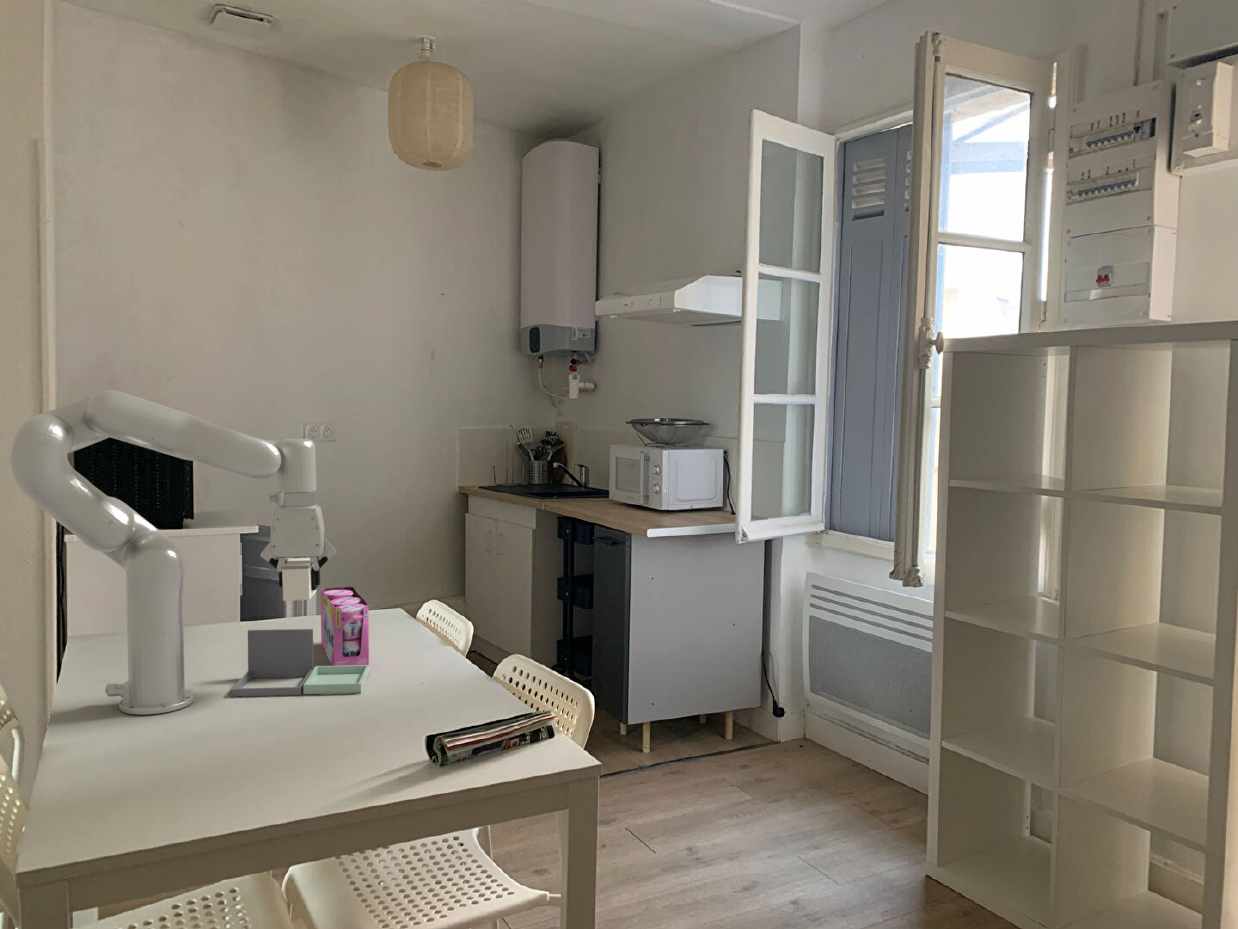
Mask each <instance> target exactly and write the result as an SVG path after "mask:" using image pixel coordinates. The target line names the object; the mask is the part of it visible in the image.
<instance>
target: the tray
mask: <svg viewBox="0 0 1238 929" xmlns="http://www.w3.org/2000/svg"><path fill="white" fill-rule="evenodd" d="M369 676H370V664H369V665H347V666H332V665H316V666H315V667H313V671H312V673H311V674H310V676H309V677H308V679H307V680H306V682H305V683H304V685H303V692H302V695H303V694H321V695H346V694H347V695H351V694H352V693H354V694H355V693H358V694H362V692H363V690H364V688H363V687H365V685H366V683H367V681H368V679H367V678H369ZM365 682H366V683H365ZM350 693H351V694H350ZM352 695H353V694H352Z"/></svg>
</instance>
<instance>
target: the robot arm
mask: <svg viewBox="0 0 1238 929" xmlns="http://www.w3.org/2000/svg"><path fill="white" fill-rule="evenodd" d="M108 438H111V439H115V440H119V441H121V442H124V443H125V442H126V443H128V444H131V445H135V446H138V447H141V448H142V447H143V448H145V449H148V450H152V451H155V452H158V453H162V454H165V455H168V456H172V457H174V458H178V459H181V460H185V461H191V462H192V461H193V462H196V463H201V464H203V465H204V464H205V465H208V466H211V467H214V468H218V469H221V470H224V471H228V472H230V473H231V472H232V473H234V474H238V475H241V476H245V477H247V478H250V479H254V480H266V479H269V478H271V477H273V476H274V475H276V477H275V478H276V492H275V494H270V495H269V502H273V503H275V504H276V507H273V508H272V512H271V513H272V514H271V520H270V537H269V538H270V539H269V540H270V541H269V542H268V544H267V545H266V546H265V547H264V548H263V550H262V551H261V553H260V557H261V558H262V559H264V561H266V562H268V563H269V564H270V565H271V566H272V567H274V569H276V572H278V585H279V588H280V587H281V588H282V589H281V591H282V592H283V580H282V569H281V566H282V565H284V564H285V563H286V562H287V561H288V560H289V559H295V558H310V560H311V563H312V566H313V567H312V571H311V589H312V590H316V591H317V589H318V586H320V585H321V568H322V567H323V566H324V565H325V564H326V563H327V562H328V561H329V560H331V559H332V558H333V557H334V556H336V554H337V553H338V552H337V549H336V548H335V547H334V546H333V544H331V543H330V541H329V540H328V539H327V538H326V532H325V522H324V517H323V516H324V515H323V513H322V512H323V511H322V507H321V505H318V498H317V495H318V493H317V491H318V490H317V467H316V466H317V462H316V446H315V443H314V441H313V440H312V439H308V438H286V439H285V438H284V439H281V440H274V439H273V440H272V439H262V438H258V437H255V436H252V435H248V434H245V433H242V432H239V431H236V430H234V429H233V430H232V429H230V428H227V427H223V426H221V425H218V424H215V423H212V422H210V421H207V420H205V419H204V418H201V417H199V416H197V415H195V414H191V413H189V412H186V411H183V410H179V409H175V408H172V407H169V406H167V405H163V404H160V403H158V402H154V401H150V400H148V399H145V398H142V397H140V396H136V395H132V394H129V393H126V392H123V391H120V390H117V389H116V390H115V389H106V390H102V391H98V392H96V393H93V394H91V395H88V396H86V397H84V398H82V399H81V398H80V399H79V400H77V401H74V402H73V401H72V402H71V403H68V404H66V405H62V406H60V407H57V408H54V409H51V410H48V411H45V412H43V413H42V412H41V413H39V414H36V415H34V416H32V417H29V418H27V419H26V420H25V421H24V422H22V424H20V426H19V427H18V429H17V430H16V433H15V435H14V438H13V442H12V446H11V451H10V457H9V458H10V459H9V460H10V467H11V472H12V475H13V479H14V480H15V482H16V484H17V485H18V487H19V489H20V490H21V491H22V492H23V494H25V496H26V497H28V498H29V499H30V500H31V501H32V502H33V503H34V504H35V505H36V506H38V507H39V508H40V509H41V510H43V511H44V512H46V513H47V514H48V515H50V517H52V518H53V519H54V520H55V521H56V522H58V523H59V524H60V525H62V526H63V527H64V528H66V529H67V531H69V532H71V533H72V534H73V535H74V536H75V537H77V538H78V540H80V541H81V542H82V543H83V544H84V545H85V546H87V547H88V548H90V549H92V550H95V551H98V552H101V553H102V554H103V555H105V556H106V557H108V558H109V559H111V560H112V561H114V563H116V564H118V566H120V567H121V568H122V569H124V570H125V580H126V582H125V583H126V627H127V671H128V672H127V673H128V674H127V675H128V676H127V677H128V678H127V679H128V680H127V681H125V682H123V683H114V682H113V683H107V684H106V685H105V694H106V695H107V697H108V698H109V697H120V698H122V699H121V700H120V701H119V704H118V707H119V708H118V709H119V711H121V712H122V713H125V714H130V715H138V716H142V715H146V716H147V715H157V714H159V715H160V714H165V713H169V712H175V711H177V710H181V709H183V708H185V707H187V706H189V705H191V704H192V703H193V702H194V698H195V697H194V696H195V695H194V692H193V691H191V690H189V689H186V688H185V686H186V685H185V682H186V680H185V639H184V638H185V629H184V628H185V626H184V623H185V622H184V588H185V585H184V584H185V563H184V562H185V561H184V558H183V555H182V552H181V551H180V549H179V548H178V546H177V545H176V543H175V542H174V541H173V540H171V538H170V537H168V536H167V535H165V533H164V532H162V531H161V530H160V529H158V528H157V527H156V526H155V525H153V524H152V523H150V522H149V521H148V520H147V519H146V518H144V517H143V516H141V515H140V514H139V513H138V512H137V511H136V510H134V509H133V508H132V507H130V506H129V505H128V504H127V503H125V502H123V501H122V500H121V499H118V498H117V497H114V496H108V495H107V494H105V493H104V492H103V491H102V490H100V489H99V488H97V487H96V486H95V485H94V484H92V482H90V481H89V480H88V479H87V478H86V477H84V475H82V474H81V473H79V472H78V471H77V470H75V468H73V467H72V465H71V463H70V462H69V458H68V454H70V453H74V452H76V451H78V450H81V449H83V448H86V447H89V446H91V445H93V444H96V443H99V442H101V441H103V440H106V439H108ZM325 551H327V552H326V554H325V555H323V556H322V557H321V558H320V556H321V555H322V554H323V553H324V552H325Z"/></svg>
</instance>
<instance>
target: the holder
mask: <svg viewBox="0 0 1238 929" xmlns="http://www.w3.org/2000/svg"><path fill="white" fill-rule="evenodd" d="M313 670H314V629H313V628H285V629H284V628H283V629H281V628H279V629H248V630H247V672H246V673H245V674H243V675H242V677H241V678H240V679H239V680H238V681H237V683H236V684H235V685H234V686H233V687H232V688H231V690H230V691H231V698H238V697H239V696H241V697H242V698H243V697H273V696H274V697H275V696H276V697H278V696H277V695H284V696H301V695H302V694H303V685H304V683H305V682H306V680H307V679H308V677H309V676H310V674H311V673H312V671H313ZM278 676H279V677H278ZM282 676H286V677H285V678H288V677H287V676H305V677H304V678H303V680H302V681H301V683H300V684H299V686H281V687H276V686H275V687H247V688H246V687H245V688H244V686H245V685H246V684H247V683H246V682H247V681H248V682H249V681H250V679H251V677H264V678H283V677H282ZM301 693H302V694H301ZM241 697H239V698H241Z"/></svg>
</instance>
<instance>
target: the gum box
mask: <svg viewBox="0 0 1238 929" xmlns="http://www.w3.org/2000/svg"><path fill="white" fill-rule="evenodd" d="M369 620H370V618H369V603H368V601H367V600H366V599H365V598H364V597H362V595H361V594H360V593H359V592H358V591H357V589H356V588H355V587H354V585H352V586H336V587H325V588H324V587H322V588H321V589H320V629H321V630H320V631H321V632H320V634H321V645H322V648H324V649H323V650H324V653H325V652H326V653H325V655H326V657H327V656H328V657H327V659H328V660H329V664H330V666H347V665H369V666H370V637H369V636H370V632H369V631H370V626H369V625H370V624H369V623H370V622H369Z"/></svg>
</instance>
